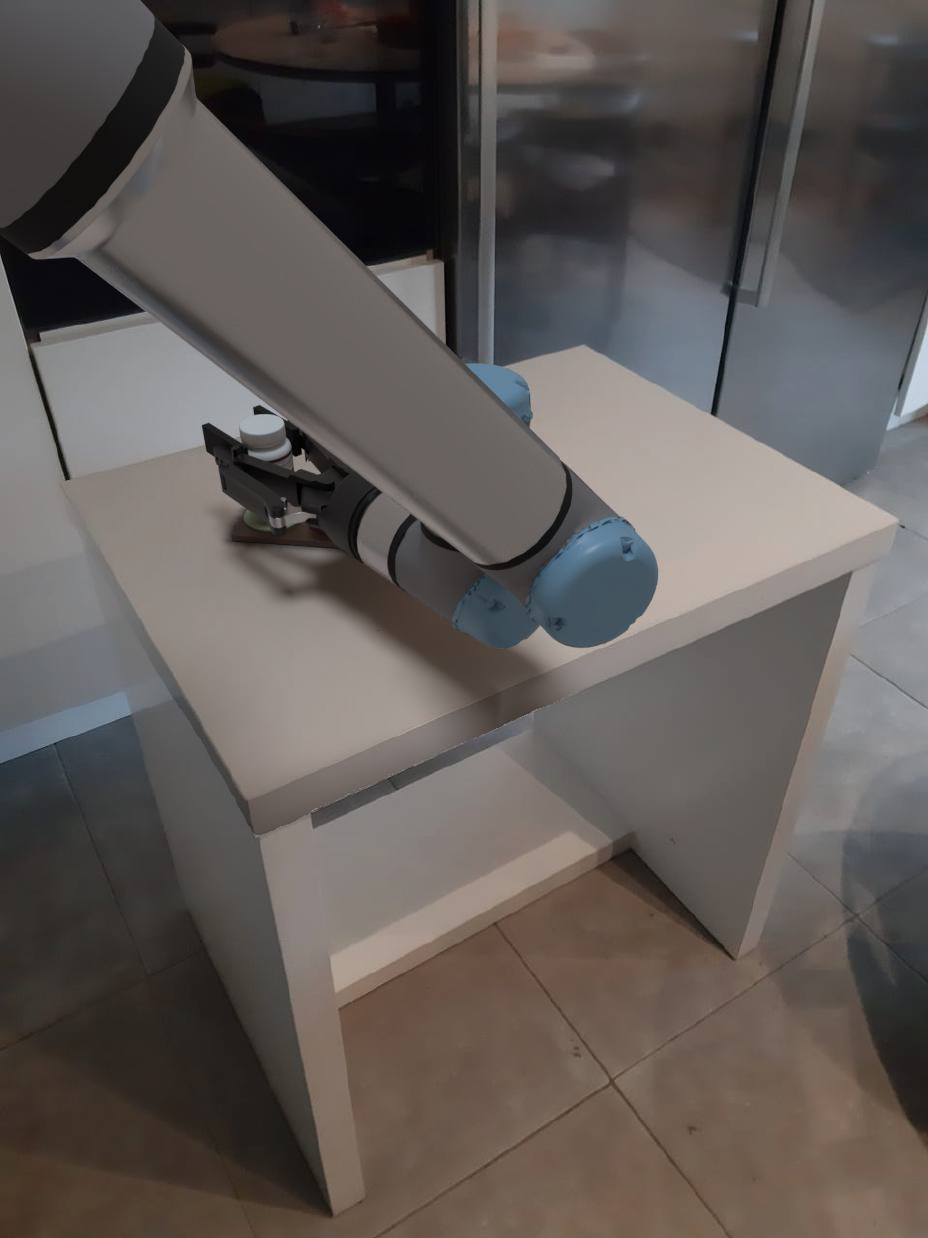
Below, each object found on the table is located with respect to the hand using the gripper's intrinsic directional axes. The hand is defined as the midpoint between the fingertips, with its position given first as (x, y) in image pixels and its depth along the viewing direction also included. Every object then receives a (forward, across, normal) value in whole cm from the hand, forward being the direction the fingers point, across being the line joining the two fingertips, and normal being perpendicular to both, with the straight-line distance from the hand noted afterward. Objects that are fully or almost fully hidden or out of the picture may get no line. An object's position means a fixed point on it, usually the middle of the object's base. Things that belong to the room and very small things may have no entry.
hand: (233, 428), depth 92 cm
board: (-10, +4, -8) cm, 13 cm away
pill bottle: (-5, 0, -6) cm, 8 cm away
